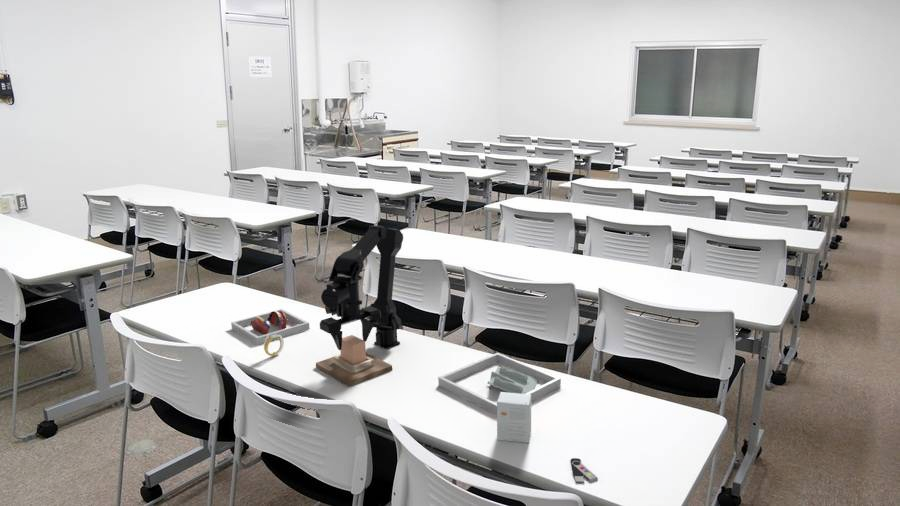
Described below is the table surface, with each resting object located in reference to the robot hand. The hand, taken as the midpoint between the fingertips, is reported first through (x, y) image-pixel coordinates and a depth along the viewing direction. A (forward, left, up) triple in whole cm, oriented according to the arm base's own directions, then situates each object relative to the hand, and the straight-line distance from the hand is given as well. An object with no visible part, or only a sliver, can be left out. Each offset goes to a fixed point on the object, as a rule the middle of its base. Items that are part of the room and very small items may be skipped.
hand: (352, 345), depth 197 cm
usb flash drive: (-7, +81, -8) cm, 82 cm away
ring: (+13, -26, -8) cm, 30 cm away
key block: (0, 0, -6) cm, 6 cm away
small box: (-7, +60, -8) cm, 61 cm away
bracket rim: (-24, +39, -8) cm, 47 cm away
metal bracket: (-26, +43, -8) cm, 51 cm away
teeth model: (+3, -49, -8) cm, 49 cm away
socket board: (0, 0, -8) cm, 8 cm away
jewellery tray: (+3, -48, -8) cm, 49 cm away
